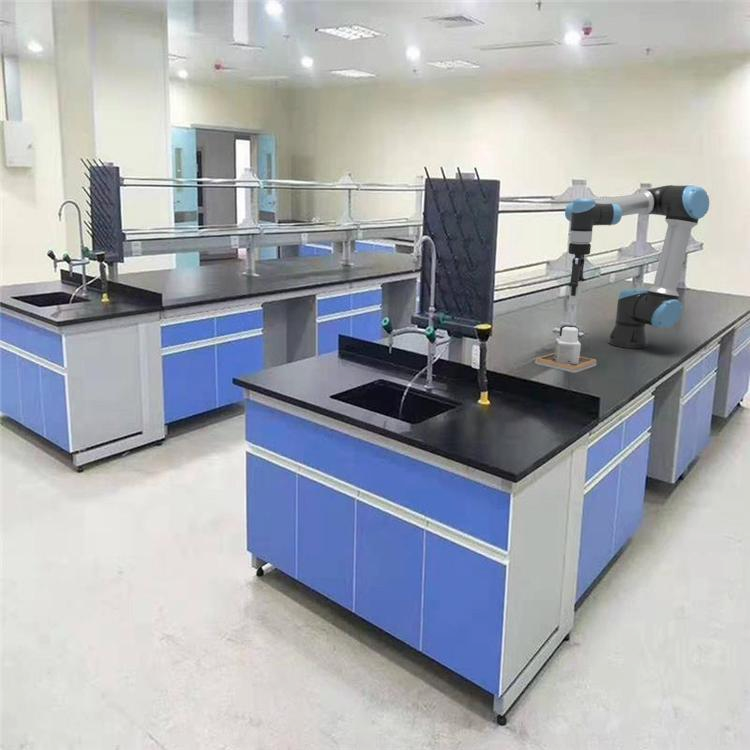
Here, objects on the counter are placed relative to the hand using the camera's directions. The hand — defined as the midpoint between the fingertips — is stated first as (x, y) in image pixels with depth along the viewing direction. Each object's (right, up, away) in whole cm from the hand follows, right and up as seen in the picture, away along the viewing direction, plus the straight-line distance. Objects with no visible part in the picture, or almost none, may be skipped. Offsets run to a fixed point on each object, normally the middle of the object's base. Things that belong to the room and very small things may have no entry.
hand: (574, 301), depth 256 cm
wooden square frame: (-4, -23, -1) cm, 23 cm away
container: (-4, -22, -2) cm, 23 cm away
